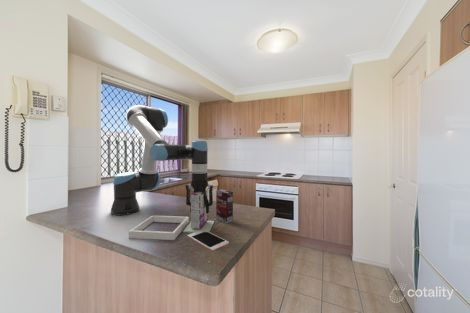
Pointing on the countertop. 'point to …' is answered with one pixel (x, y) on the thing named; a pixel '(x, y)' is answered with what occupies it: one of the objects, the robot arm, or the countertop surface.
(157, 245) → the countertop surface
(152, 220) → the tray
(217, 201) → the supplement box
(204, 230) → the mat
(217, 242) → the cell phone
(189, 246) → the countertop surface
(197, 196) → the candy bar box
